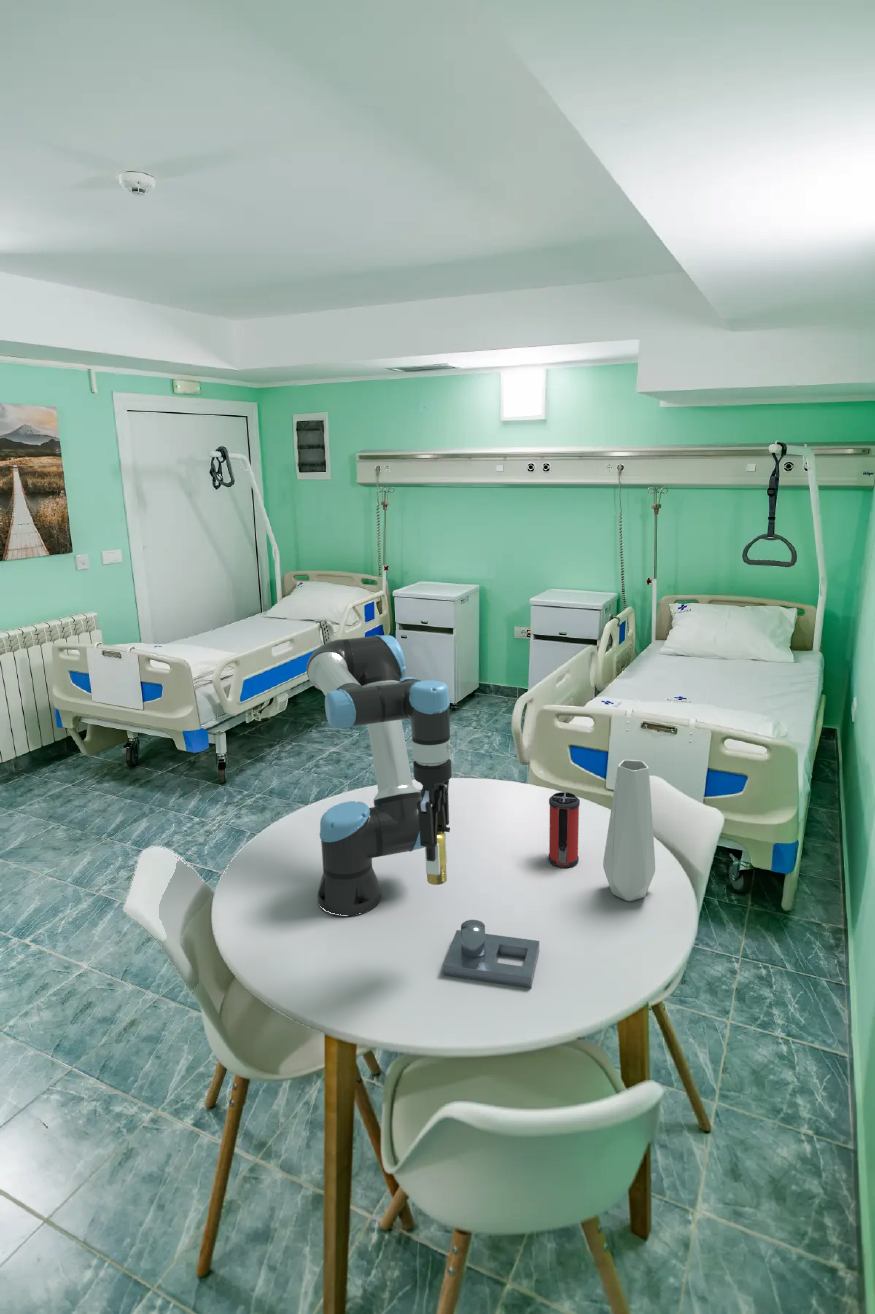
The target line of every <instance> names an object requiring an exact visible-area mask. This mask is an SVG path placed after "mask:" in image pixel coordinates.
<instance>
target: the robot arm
mask: <svg viewBox="0 0 875 1314" xmlns="http://www.w3.org/2000/svg"><path fill="white" fill-rule="evenodd" d="M406 674H407V668H406V660H405V655H404V652H403V649H402V647H401V645H400V643H399V641H398V640H397V638H395V637H394V636H393V635H387V634H385V635H378V634H375V635H370V636H362V637H354V638H343V639H333V640H331V641H329V642H326V643H324V644H323V645H320V646H318V648H316V649H315V650H314V651H313V653H312V654H311V655H310V657H309V658H308V660H307V663H306V675H307V678H308V680H309V682H310V683H311V685H312V686H314V687H315V688H316V689H318V690H320V691H322V693H323V695H324V696H325V697H324V707H325V716H326V719H327V724H328V725H329V727H331V728H333V729H338V728H345V729H348V728H351V727H358V726H364V725H365V726H366V725H367V730H368V736H369V742H370V748H371V754H372V755H371V756H372V760H373V766H374V775H375V779H376V780H375V781H376V786H377V794H376V795H375V796H374V798H373V807H372V806H371V807H369V806H368V805H367V804H366V803H365V802H362V801H354V800H351V801H350V800H349V801H345V802H341V803H337V804H336V805H333V806H331V807H330V808H328V809H327V810H326V811H325V812H324V813H323V814H322V816H321V818H320V822H319V823H320V824H319V839H320V843H321V845H320V846H321V859H322V871H323V873H322V876H321V880H320V884H319V886H318V890H317V903H318V902H319V904H320V906H321V907H322V908H324V909H325V910H326V911H329V912H331V913H335V914H339V915H340V914H341V915H355V916H357V915H356V914H359V913H363V914H365V912H366V913H368V912H369V911H372V910H373V909H374V908H376V907H377V906H378V905H379V904H380V902H381V898H382V887H381V884H380V882H379V880H378V879H379V878H377V875H376V873H375V870H374V867H373V861H372V860H373V859H374V858H379V857H380V858H381V857H385V856H391V855H396V854H403V853H407V852H409V853H410V852H413V851H416V850H420V849H423V848H424V852H425V854H424V855H425V857H424V859H425V873H426V875H427V874H435V875H439V874H440V858H439V843H437V830H438V831H442V832H444V833H445V849H446V864H447V863H448V859H447V858H448V856H447V855H448V854H447V853H448V852H447V833H450V831H451V827H448V826H449V824H450V812H449V811H450V810H449V807H450V806H449V787H450V786H449V785H450V780H451V778H452V775H453V774H452V770H453V769H452V760H451V757H452V756H451V755H452V754H451V753H452V752H451V750H453V748H454V746H453V744H451V729H450V728H451V724H450V723H451V722H450V721H451V720H450V717H451V716H450V714H451V713H450V703H451V699H450V694H449V687H448V685H447V684H446V683H445V682H443V681H438V680H433V679H431V680H429V679H426V680H421V679H418V678H416V677H411V676H408V677H406ZM402 720H409V721H410V725H411V748H412V750H411V751H412V752H411V753H412V759H413V760H414V761H413V762H412V766H413V767H412V768H413V777H414V780H415V781H416V782H417V783H420V784H421V786H422V788H421V793H420V791H419V790H418V789H419V788H417V787H415V786H414V784H413V778H412V774H411V768H410V767H411V766H410V761H409V756H408V751H407V743H406V738H405V733H404V732H405V731H404V726H403V721H402ZM421 797H422V798H421ZM319 904H318V905H319ZM320 906H319V907H320ZM367 911H368V912H367Z"/></svg>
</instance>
